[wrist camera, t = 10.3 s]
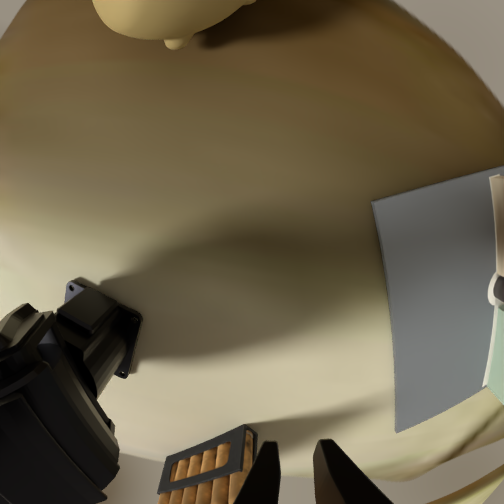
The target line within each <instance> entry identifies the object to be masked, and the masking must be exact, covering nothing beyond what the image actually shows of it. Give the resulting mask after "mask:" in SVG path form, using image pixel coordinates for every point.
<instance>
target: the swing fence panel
mask: <svg viewBox="0 0 504 504" xmlns="http://www.w3.org/2000/svg"><path fill="white" fill-rule="evenodd" d="M487 387H488V388H489V389H490V390H491V391H492V393H493V394H494V395H495V396H496V397H497V398H498V399H499V400H500V402H501V403H502V404H503V405H504V304H503V305H502V306H500V307H499V308H498V316H497V326H496V335H495V343H494V350H493V356H492V362H491V368H490V373H489V378H488V382H487Z"/></svg>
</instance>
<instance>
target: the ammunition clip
mask: <svg viewBox="0 0 504 504" xmlns="http://www.w3.org/2000/svg"><path fill="white" fill-rule="evenodd" d="M257 437H258V434H257V433H256V432H254V431H253V430H252V429H250V428H249V427H248V426H246V425H244V424H243V425H241V426H239V427H237V428H235V429H233V430H230V431H228V432H226V433H224V434H222V435H220V436H217V437H215V438H213V439H210V440H208V441H206V442H203V443H201V444H199V445H196V446H194V447H191V448H189V449H186V450H184V451H181V452H178V453H176V454H173V455H170V456H168V457H166V461H165V464H164V468H163V472H162V476H161V480H160V484H159V488H158V492H157V494H159V495H160V497H159V501H158V504H233V502H234V500H235V498H236V497H237V495H238V493H239V491H240V489H241V487H242V485H243V483H244V481H245V479H246V477H247V475H248V473H249V471H250V469H251V467H252V465H253V463H254V461H255V459H256V456H257Z"/></svg>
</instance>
